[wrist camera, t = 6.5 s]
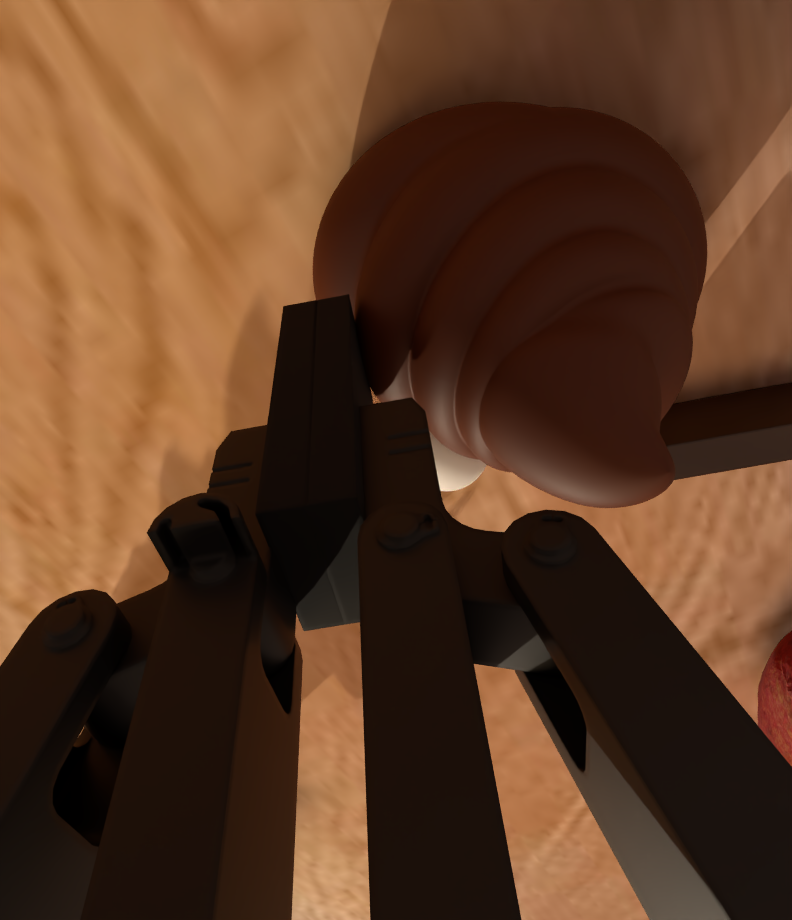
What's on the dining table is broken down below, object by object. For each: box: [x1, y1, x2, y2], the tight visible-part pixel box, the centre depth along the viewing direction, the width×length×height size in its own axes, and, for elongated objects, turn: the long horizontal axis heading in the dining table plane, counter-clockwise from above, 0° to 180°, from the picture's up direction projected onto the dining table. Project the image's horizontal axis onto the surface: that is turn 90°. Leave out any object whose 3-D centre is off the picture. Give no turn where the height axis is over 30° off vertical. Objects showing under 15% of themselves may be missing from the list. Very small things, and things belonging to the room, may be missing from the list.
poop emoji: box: [313, 102, 707, 508], centre depth 15 cm, size 10×8×9 cm
